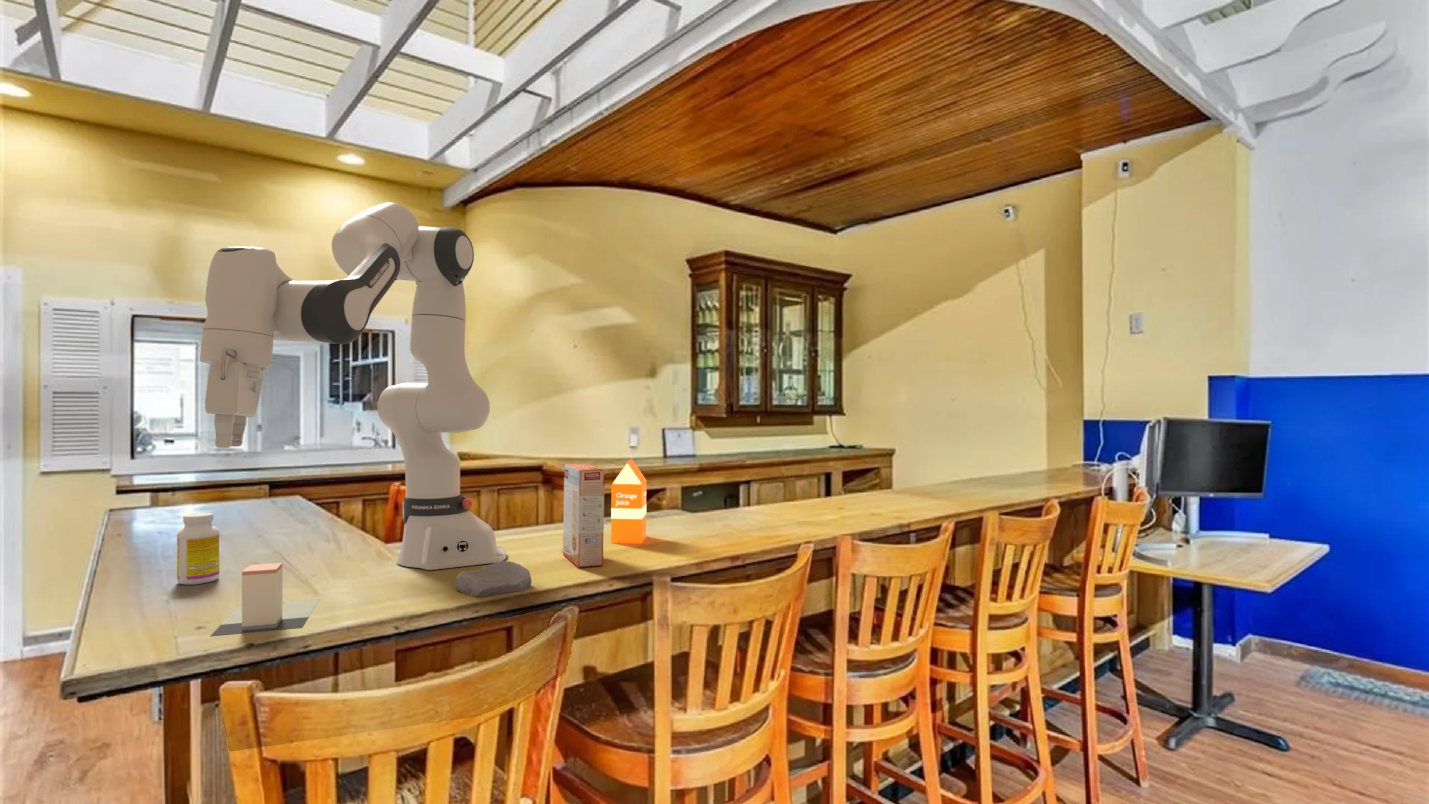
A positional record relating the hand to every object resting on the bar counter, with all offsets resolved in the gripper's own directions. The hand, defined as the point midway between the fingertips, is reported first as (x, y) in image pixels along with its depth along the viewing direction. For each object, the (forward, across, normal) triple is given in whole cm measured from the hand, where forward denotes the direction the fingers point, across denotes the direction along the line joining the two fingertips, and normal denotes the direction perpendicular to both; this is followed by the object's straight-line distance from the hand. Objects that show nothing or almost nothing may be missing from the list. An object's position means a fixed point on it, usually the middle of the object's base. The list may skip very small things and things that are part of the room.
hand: (229, 447), depth 105 cm
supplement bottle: (+27, +43, +9) cm, 52 cm away
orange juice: (+21, +48, -80) cm, 95 cm away
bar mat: (+28, +11, -6) cm, 30 cm away
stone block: (+26, +15, -42) cm, 51 cm away
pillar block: (+28, +6, -5) cm, 29 cm away
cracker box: (+23, +30, -63) cm, 73 cm away
